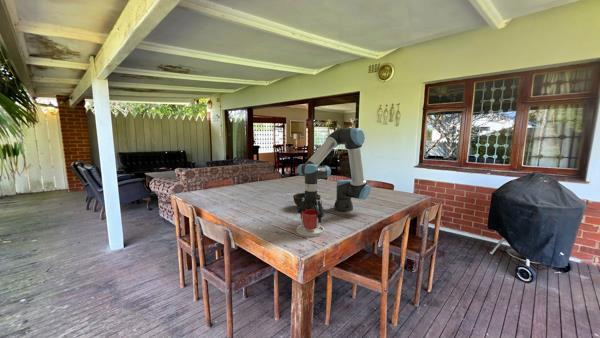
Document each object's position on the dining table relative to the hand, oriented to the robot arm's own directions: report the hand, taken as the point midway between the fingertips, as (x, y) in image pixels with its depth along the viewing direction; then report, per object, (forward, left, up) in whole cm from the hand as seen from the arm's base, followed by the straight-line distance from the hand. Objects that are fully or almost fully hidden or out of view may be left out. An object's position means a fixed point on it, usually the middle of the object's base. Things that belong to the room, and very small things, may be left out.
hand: (310, 226), depth 158 cm
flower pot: (0, 0, -1) cm, 1 cm away
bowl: (-41, -29, -4) cm, 50 cm away
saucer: (0, 0, -3) cm, 3 cm away
